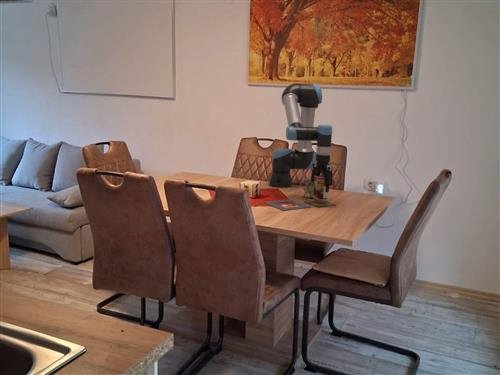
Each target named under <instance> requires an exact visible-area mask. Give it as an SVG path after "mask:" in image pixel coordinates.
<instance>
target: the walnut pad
mask: <svg viewBox="0 0 500 375" xmlns="http://www.w3.org/2000/svg"><path fill="white" fill-rule="evenodd" d="M303 204H305V205H308V206H311V207H315V208H318V209H319V208H329V207H334V206H335V207H336V206H337V205H336V203H335V202H331V201H327V200H318V199H310V200H304V201H303Z"/></svg>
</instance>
